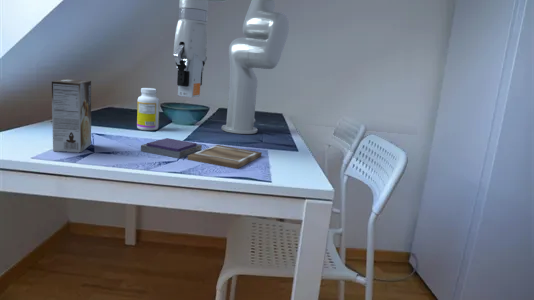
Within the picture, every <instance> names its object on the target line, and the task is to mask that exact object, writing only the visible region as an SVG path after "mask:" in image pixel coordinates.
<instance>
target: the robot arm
mask: <svg viewBox="0 0 534 300" xmlns="http://www.w3.org/2000/svg"><path fill="white" fill-rule="evenodd" d="M227 1H228V0H179V3H178V6H179V7H178V21H177V23H176V27H175V35H174V44H173V59H174V61H175V65H176V70H177V80H176V81H177V82H176V83H177V85H176V86H185V87H188V86H189V71H188V68H189V64H190V61H192V60H193V56H194V52H195V53H197V55H198V58H199V60H200V61H202V69H201V85H200V87H201V86H202V85H203V74H204V73H203V72H204V70H205V69H204V67H205V66H206V65H205V64H206V61H207V60H208V59H207V58H208V57H207V47H208V46H207V43H208V42H207V40H208V38H207V36H208V35H207V26H208V18H209V17H208V16H209V3H225V2H227ZM275 7H276V0H251V2H250V4H249V7H248V9H247V12H246V14H245V16H244V17H245V18H244V21H243V23H242V33H243V35H244V36H245V37H237V38H235V39H233V40H231V43H230V44H229V47H228V57H229V58H228V59H229V86H228V99H227V111H226V124H223V125H222V126H221V130H222V131H224V132H227V133H232V134H240V135H241V134H242V135H252V134H256V133H258V129H259V128H257V127H255V123H256V118H255V115H256V114H255V113H256V100H257V92H258V91H257V89H258V79H257V78H258V77H257V76H256V75H257V74H256V73H255V72H254V69H261V70H273V69H275V68H276V67H277V66H278V65H279V62H280V60H281V57H282V54H283V51H284V49H285V48H284V47H285V45H286V43H287V38H288V37H289V31H290V22H289V18H288V16H287V15H286V14H285V13H284V12H280V11H275ZM182 56H183V57H186V58H187V59H184V58H182ZM184 62H186V63H185V64H184Z"/></svg>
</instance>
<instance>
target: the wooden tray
mask: <svg viewBox="0 0 534 300" xmlns="http://www.w3.org/2000/svg"><path fill="white" fill-rule="evenodd" d="M262 154H263V153H262V152H260V151H255V150H250V149H243V148H239V147H234V146H233V147H232V146H225V145H220V144H216V145H213V146H210V147H208V148H205V149H201V151H199V152H196V153H193V154H190V155H188V156H187V160H188V161H194V162H200V163H205V164H210V165H214V166H215V165H216V166H221V167H227V168H231V169H236V170H237V169H239V168H241V167H243V166H245V165H247V164H249V163H251V162H254V161H256V159H259V158H260V157H262Z"/></svg>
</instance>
